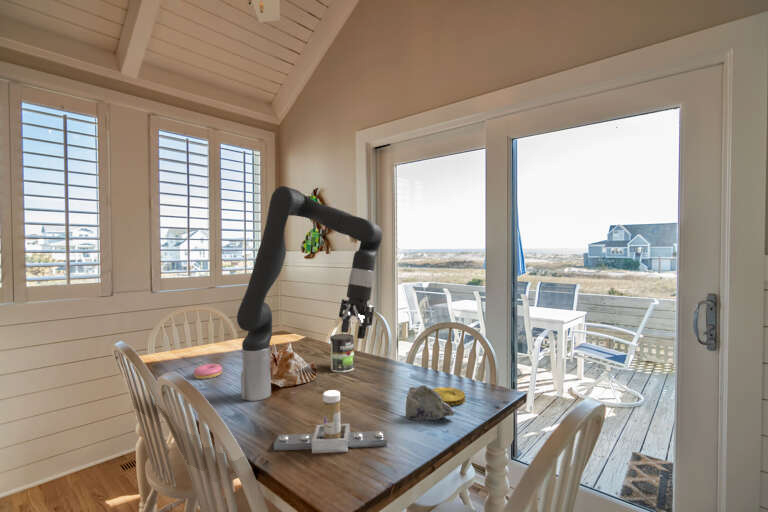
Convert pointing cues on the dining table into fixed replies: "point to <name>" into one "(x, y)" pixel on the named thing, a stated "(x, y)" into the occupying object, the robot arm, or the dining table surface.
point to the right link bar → (367, 439)
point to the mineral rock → (426, 404)
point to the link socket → (330, 440)
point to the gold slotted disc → (451, 395)
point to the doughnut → (207, 371)
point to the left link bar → (293, 442)
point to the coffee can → (342, 352)
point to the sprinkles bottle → (331, 414)
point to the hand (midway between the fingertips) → (352, 335)
